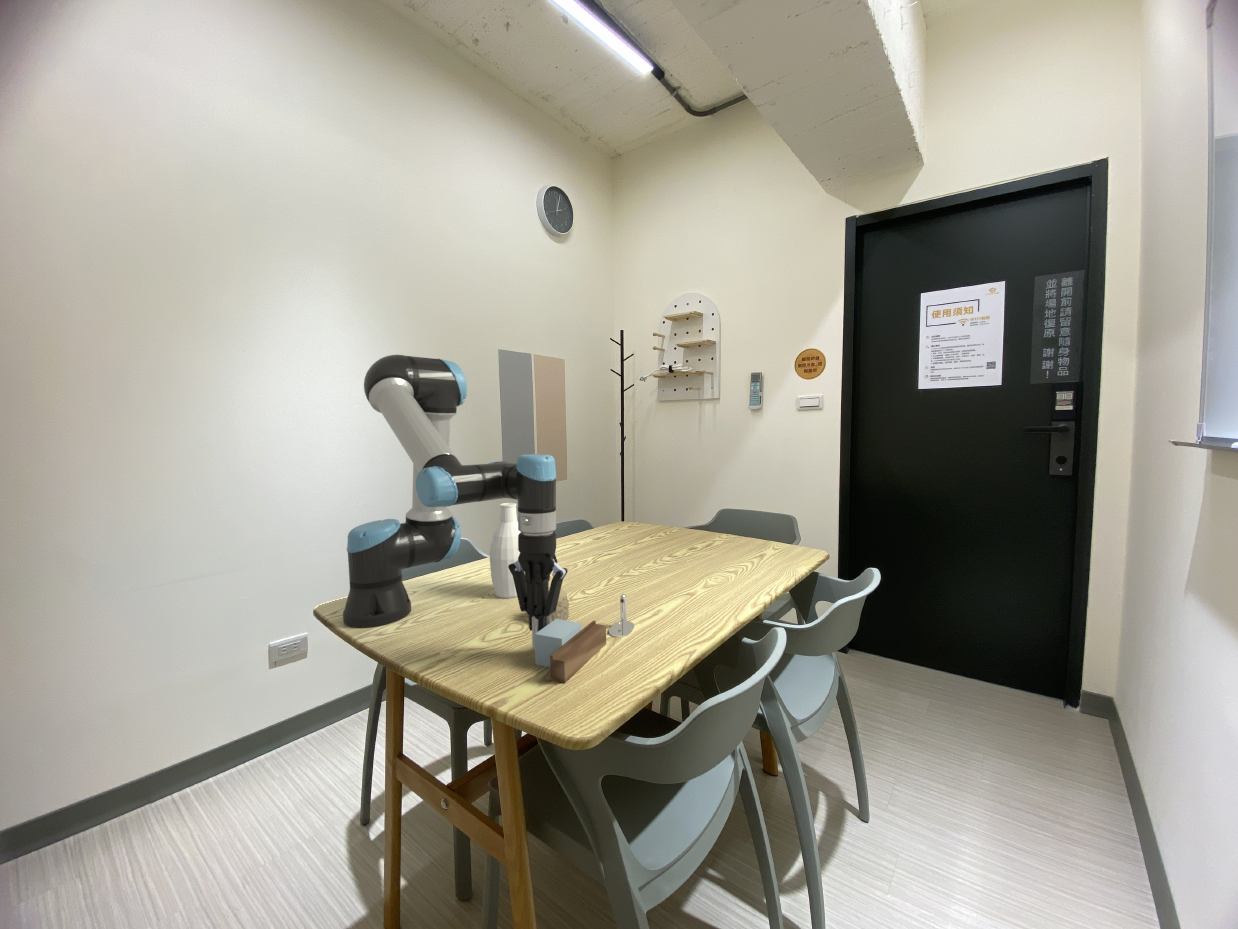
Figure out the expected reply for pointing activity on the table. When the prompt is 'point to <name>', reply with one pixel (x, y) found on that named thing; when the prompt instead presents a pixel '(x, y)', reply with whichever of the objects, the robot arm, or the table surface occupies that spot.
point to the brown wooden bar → (577, 652)
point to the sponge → (560, 608)
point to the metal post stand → (622, 621)
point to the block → (553, 639)
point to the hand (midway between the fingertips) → (538, 646)
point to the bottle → (504, 552)
